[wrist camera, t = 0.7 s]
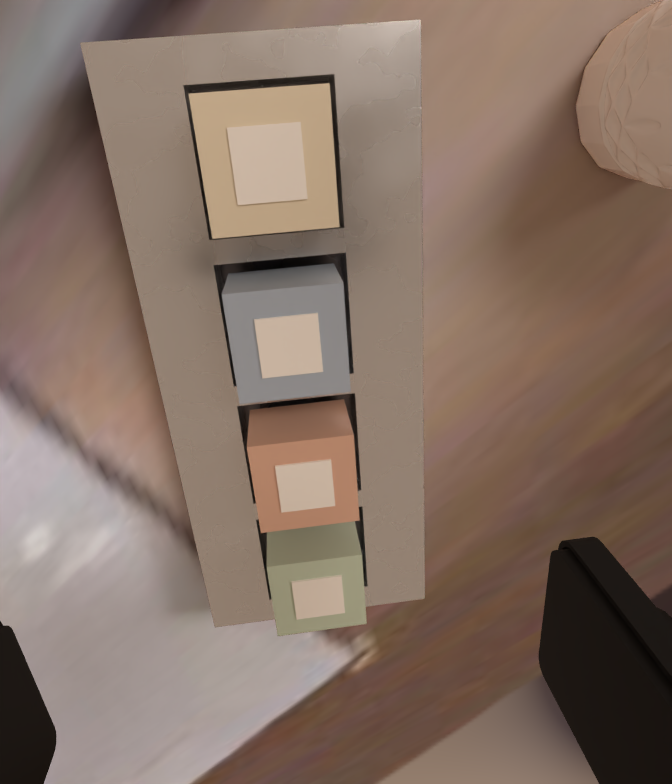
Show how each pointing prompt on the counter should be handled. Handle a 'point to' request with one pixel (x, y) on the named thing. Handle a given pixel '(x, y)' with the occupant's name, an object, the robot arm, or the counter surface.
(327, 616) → the key
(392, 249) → the keyguard pad
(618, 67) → the white cup
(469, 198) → the counter surface
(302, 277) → the key
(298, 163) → the key
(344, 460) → the key
